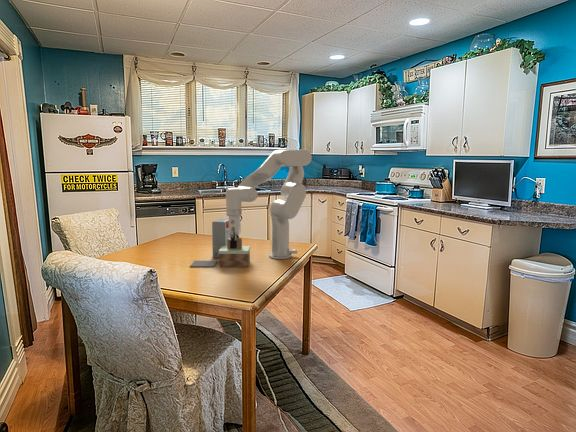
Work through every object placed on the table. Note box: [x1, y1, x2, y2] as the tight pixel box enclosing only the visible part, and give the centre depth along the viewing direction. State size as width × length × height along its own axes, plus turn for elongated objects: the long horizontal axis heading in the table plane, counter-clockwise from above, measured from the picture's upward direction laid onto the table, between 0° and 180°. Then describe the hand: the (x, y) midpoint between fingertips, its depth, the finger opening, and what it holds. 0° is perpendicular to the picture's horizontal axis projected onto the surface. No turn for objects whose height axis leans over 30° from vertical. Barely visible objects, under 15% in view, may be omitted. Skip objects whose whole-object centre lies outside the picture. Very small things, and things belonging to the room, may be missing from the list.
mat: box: [189, 260, 218, 268], centre depth 188 cm, size 12×10×1 cm
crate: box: [219, 249, 251, 268], centre depth 188 cm, size 14×10×7 cm
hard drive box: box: [211, 217, 230, 258], centre depth 206 cm, size 16×8×20 cm, turn 168°
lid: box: [219, 237, 251, 254], centre depth 187 cm, size 15×11×8 cm
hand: (234, 245), depth 187 cm, fingers open, 9 cm apart
